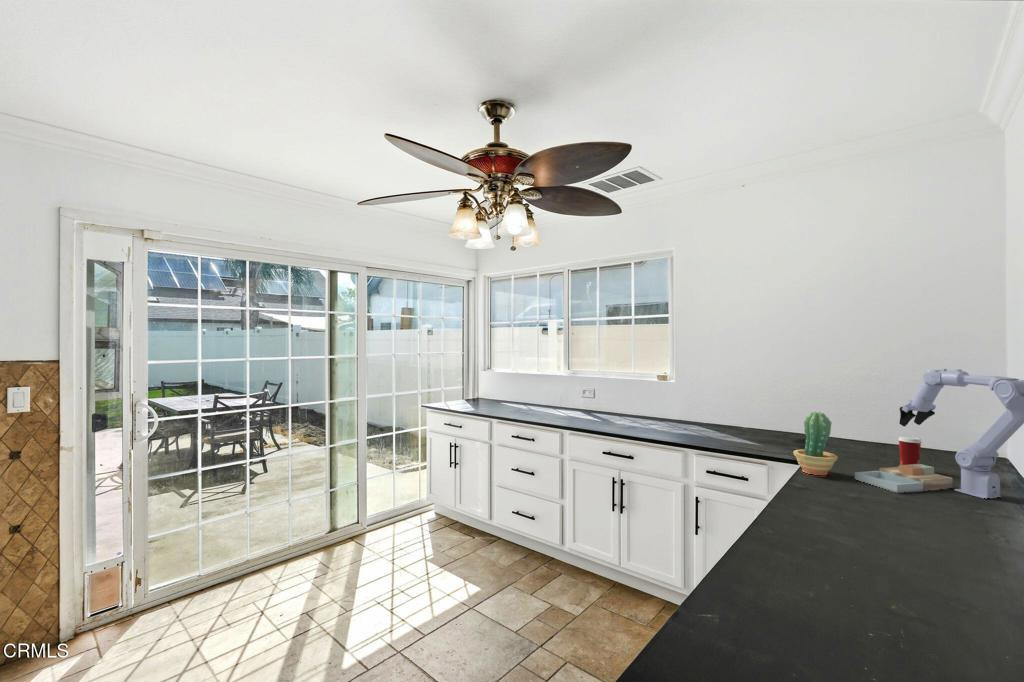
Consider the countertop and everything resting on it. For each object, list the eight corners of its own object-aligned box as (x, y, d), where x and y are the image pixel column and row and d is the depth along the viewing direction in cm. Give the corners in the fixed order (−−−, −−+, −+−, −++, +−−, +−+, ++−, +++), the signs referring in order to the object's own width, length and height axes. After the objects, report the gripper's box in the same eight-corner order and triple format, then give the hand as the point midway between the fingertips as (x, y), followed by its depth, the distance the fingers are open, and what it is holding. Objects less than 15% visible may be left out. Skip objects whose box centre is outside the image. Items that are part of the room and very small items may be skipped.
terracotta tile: (922, 474, 176) (922, 468, 176) (912, 475, 175) (912, 468, 175) (908, 471, 181) (908, 464, 181) (898, 471, 180) (898, 465, 180)
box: (923, 491, 169) (923, 482, 169) (897, 493, 166) (897, 484, 166) (879, 478, 185) (879, 470, 185) (854, 480, 182) (854, 472, 182)
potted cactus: (847, 479, 183) (847, 415, 183) (807, 478, 183) (808, 414, 183) (821, 468, 199) (822, 409, 199) (785, 467, 199) (785, 409, 199)
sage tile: (933, 473, 178) (934, 467, 178) (923, 474, 176) (923, 467, 176) (919, 470, 182) (919, 463, 182) (909, 470, 181) (909, 464, 181)
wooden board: (952, 488, 172) (952, 477, 172) (923, 491, 169) (923, 480, 169) (906, 476, 188) (906, 466, 188) (879, 478, 185) (879, 468, 185)
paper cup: (926, 473, 192) (927, 439, 192) (907, 473, 192) (908, 439, 192) (910, 468, 200) (911, 435, 200) (892, 468, 200) (892, 435, 200)
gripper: (929, 390, 189) (913, 417, 196) (901, 392, 186) (886, 419, 192) (947, 399, 183) (930, 427, 190) (918, 402, 180) (902, 430, 186)
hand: (909, 424), depth 191 cm, fingers open, 7 cm apart
